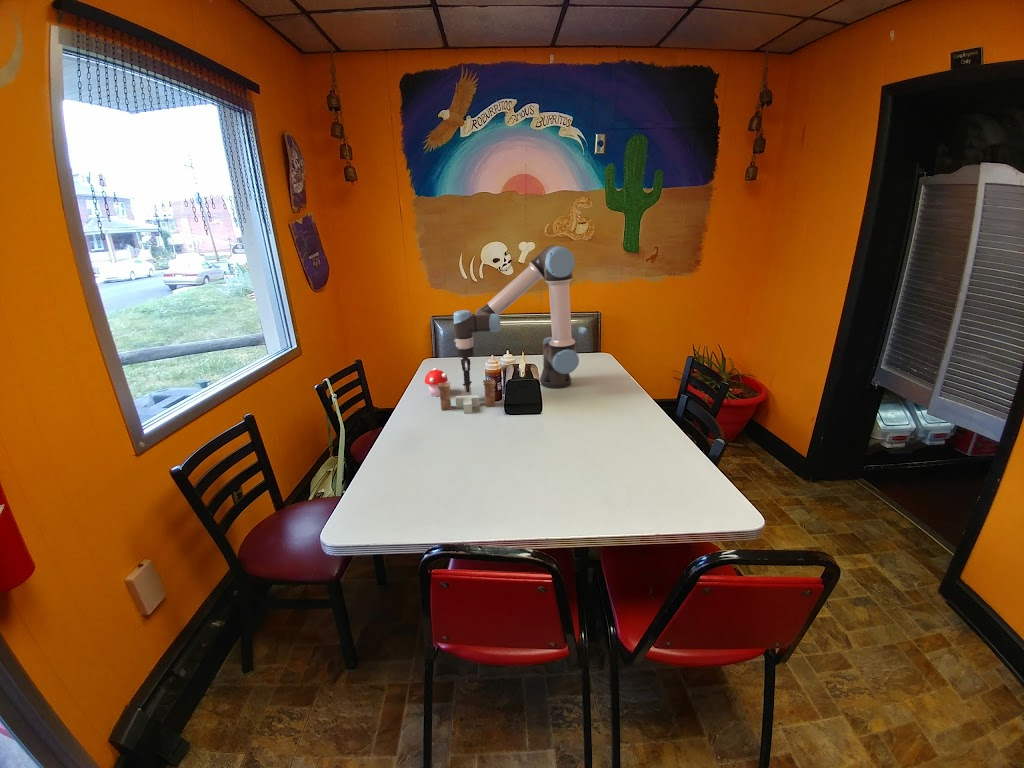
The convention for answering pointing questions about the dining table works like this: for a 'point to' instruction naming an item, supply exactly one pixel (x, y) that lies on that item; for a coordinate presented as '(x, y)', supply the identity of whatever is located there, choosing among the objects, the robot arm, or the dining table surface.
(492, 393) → the post
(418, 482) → the dining table surface
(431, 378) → the mushroom
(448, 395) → the post
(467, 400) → the t block
